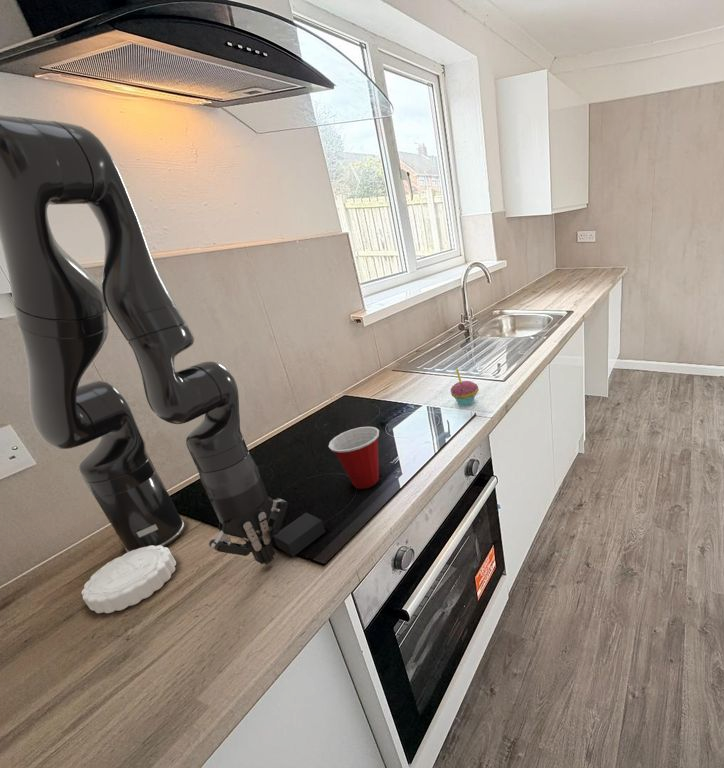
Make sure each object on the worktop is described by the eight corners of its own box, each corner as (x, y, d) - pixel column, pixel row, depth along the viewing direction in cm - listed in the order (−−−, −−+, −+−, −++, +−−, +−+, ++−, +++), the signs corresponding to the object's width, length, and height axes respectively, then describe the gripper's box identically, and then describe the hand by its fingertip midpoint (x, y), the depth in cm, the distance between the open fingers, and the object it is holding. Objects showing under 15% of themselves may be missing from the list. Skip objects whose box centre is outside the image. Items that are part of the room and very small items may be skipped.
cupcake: (447, 407, 127) (441, 371, 122) (462, 395, 134) (457, 361, 129) (470, 411, 123) (465, 374, 119) (485, 399, 130) (481, 364, 125)
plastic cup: (372, 462, 102) (362, 419, 98) (399, 476, 96) (389, 432, 91) (332, 485, 95) (318, 440, 90) (357, 502, 88) (344, 455, 84)
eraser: (277, 547, 78) (272, 535, 77) (310, 523, 83) (306, 512, 82) (293, 557, 76) (288, 544, 74) (325, 531, 81) (321, 520, 80)
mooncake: (174, 546, 80) (166, 532, 79) (179, 583, 72) (171, 568, 71) (91, 583, 73) (81, 568, 72) (87, 629, 65) (75, 613, 64)
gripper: (259, 456, 74) (288, 529, 81) (177, 500, 64) (217, 580, 71) (284, 466, 71) (312, 542, 78) (201, 514, 60) (241, 597, 67)
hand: (267, 560), depth 74 cm, fingers closed
